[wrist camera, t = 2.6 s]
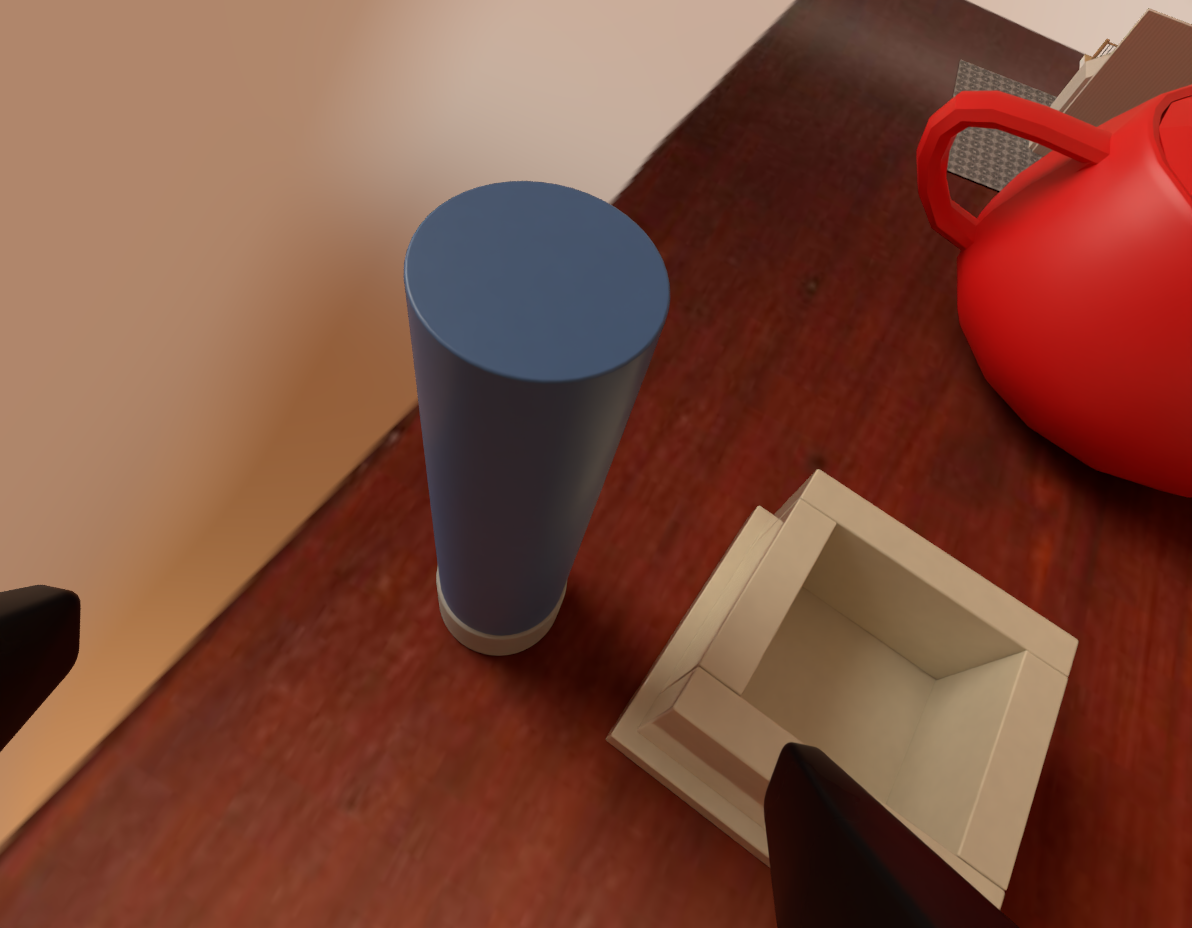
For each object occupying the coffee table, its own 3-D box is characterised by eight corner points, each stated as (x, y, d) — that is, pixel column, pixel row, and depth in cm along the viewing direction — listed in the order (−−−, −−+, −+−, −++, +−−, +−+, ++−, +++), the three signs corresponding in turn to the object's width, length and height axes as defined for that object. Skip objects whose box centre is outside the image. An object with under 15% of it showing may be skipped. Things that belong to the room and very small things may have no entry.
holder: (877, 952, 18) (1006, 989, 14) (604, 739, 20) (642, 712, 15) (979, 675, 22) (1101, 636, 18) (748, 516, 24) (810, 445, 20)
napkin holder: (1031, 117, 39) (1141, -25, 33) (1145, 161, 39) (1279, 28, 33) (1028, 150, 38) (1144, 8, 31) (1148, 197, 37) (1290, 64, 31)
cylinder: (510, 682, 20) (572, 444, 8) (412, 606, 21) (330, 274, 8) (583, 585, 22) (727, 269, 10) (491, 518, 22) (517, 138, 10)
